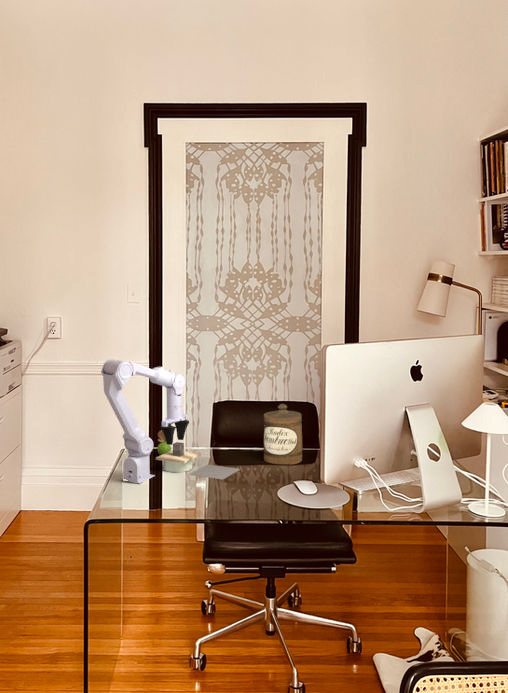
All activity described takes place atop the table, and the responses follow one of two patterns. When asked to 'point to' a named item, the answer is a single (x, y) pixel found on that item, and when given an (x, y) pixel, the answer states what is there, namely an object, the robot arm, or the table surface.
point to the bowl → (177, 466)
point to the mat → (214, 472)
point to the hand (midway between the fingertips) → (175, 442)
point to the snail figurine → (162, 444)
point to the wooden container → (283, 436)
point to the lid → (178, 454)
